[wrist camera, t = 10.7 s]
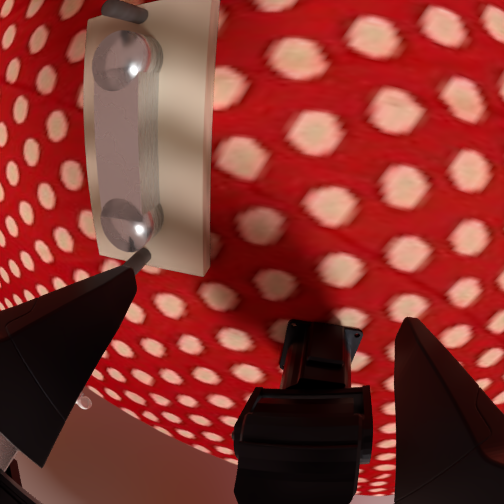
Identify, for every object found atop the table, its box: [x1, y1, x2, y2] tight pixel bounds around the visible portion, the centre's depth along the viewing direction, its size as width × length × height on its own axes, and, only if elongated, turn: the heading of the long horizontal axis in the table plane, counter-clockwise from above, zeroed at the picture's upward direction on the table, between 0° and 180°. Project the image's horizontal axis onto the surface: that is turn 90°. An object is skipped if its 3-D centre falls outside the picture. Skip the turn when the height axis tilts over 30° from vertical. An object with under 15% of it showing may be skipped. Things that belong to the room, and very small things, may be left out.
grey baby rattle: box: [92, 30, 164, 252], centre depth 17 cm, size 15×4×2 cm, turn 176°
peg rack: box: [84, 0, 220, 277], centre depth 18 cm, size 20×10×5 cm, turn 176°
